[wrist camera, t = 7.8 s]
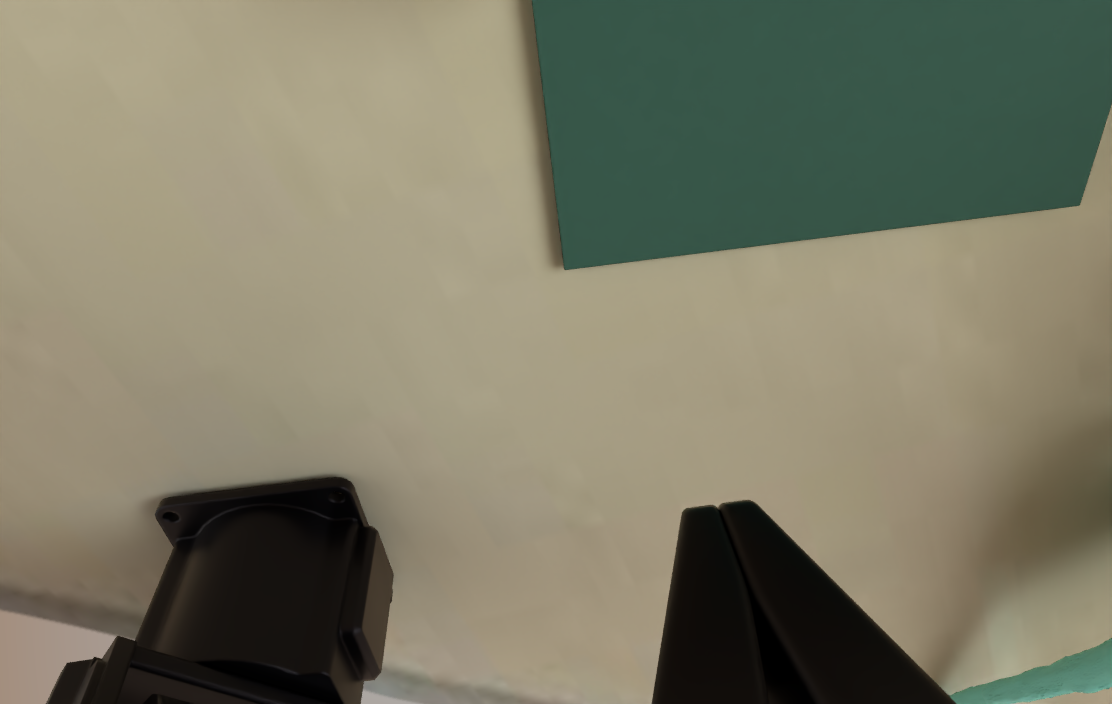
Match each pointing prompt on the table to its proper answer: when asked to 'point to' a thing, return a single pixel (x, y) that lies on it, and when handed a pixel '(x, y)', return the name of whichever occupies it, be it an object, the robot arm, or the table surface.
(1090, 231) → the table surface
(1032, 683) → the dinosaur
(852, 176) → the cutting mat
